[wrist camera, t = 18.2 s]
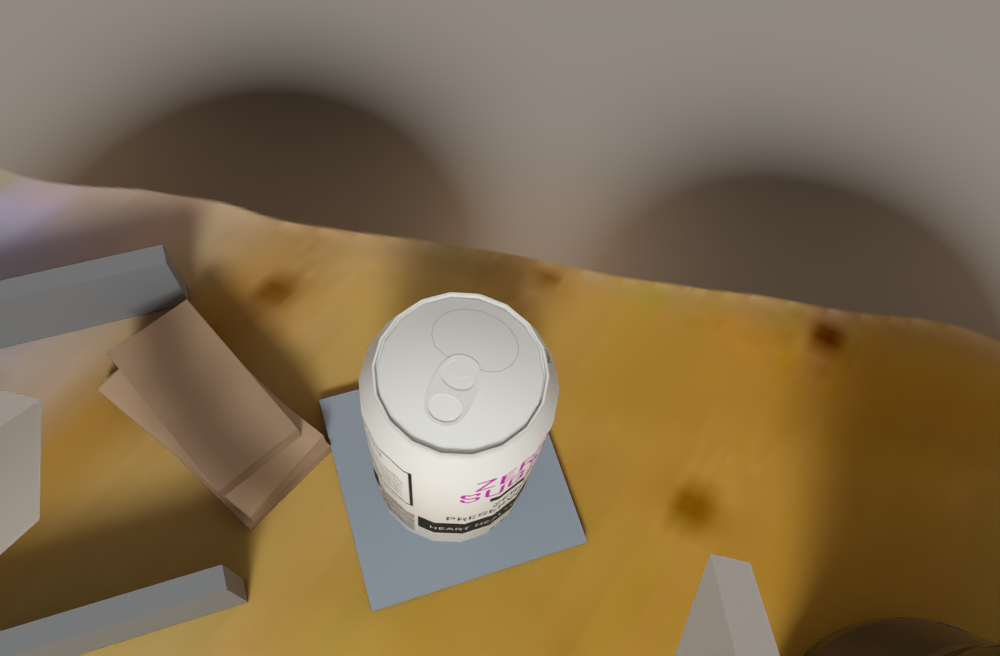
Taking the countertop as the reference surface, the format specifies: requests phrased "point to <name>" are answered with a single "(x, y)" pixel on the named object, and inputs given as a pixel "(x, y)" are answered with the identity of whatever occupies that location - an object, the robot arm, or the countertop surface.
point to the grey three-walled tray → (72, 306)
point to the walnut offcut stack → (213, 413)
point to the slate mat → (437, 564)
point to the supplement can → (456, 413)
